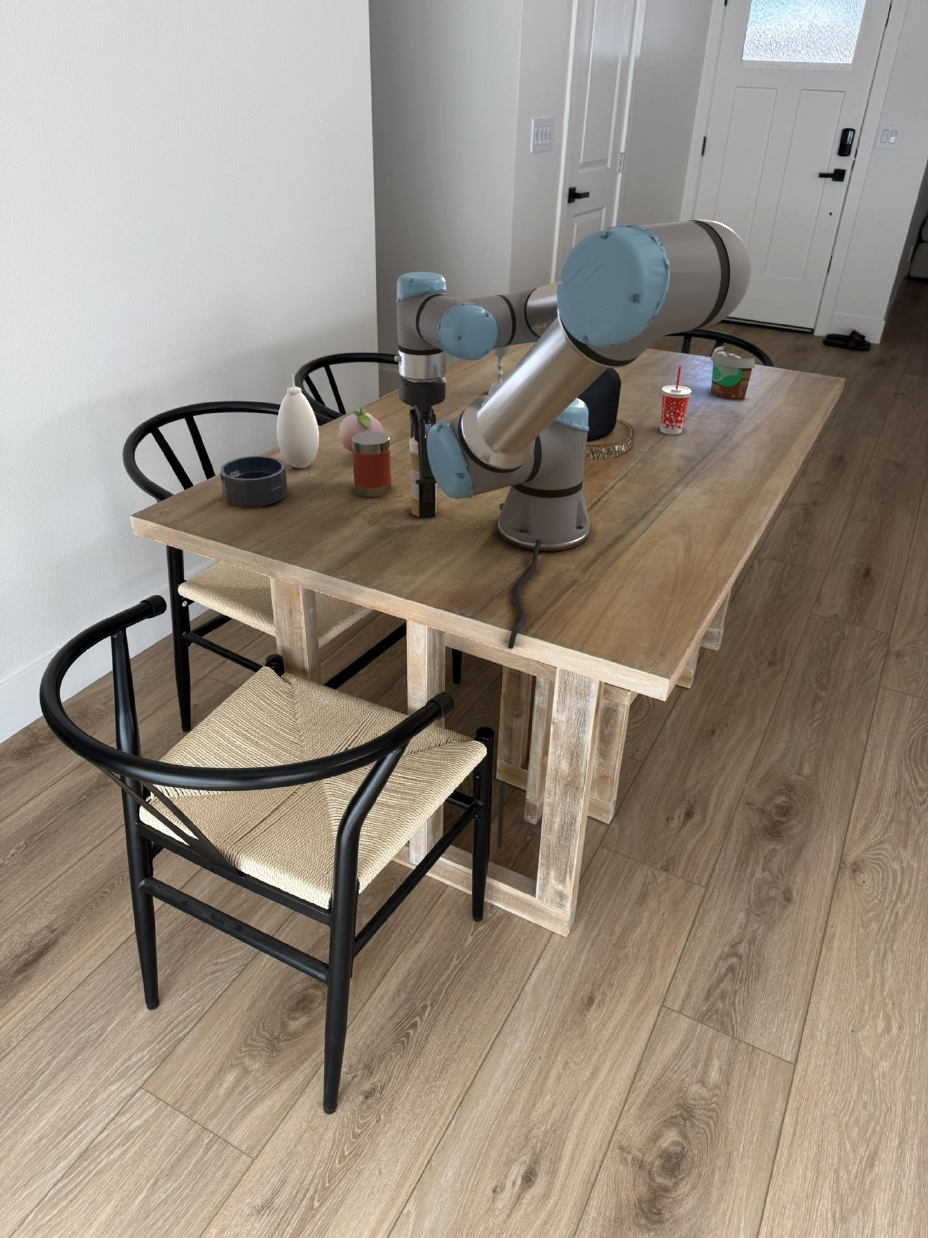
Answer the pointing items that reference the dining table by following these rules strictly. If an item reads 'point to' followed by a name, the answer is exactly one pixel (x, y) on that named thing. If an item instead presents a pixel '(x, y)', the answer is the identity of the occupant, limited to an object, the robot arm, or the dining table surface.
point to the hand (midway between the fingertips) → (423, 504)
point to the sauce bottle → (297, 429)
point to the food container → (730, 374)
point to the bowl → (254, 481)
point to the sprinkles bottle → (415, 477)
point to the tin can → (371, 464)
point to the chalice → (499, 366)
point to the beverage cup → (674, 407)
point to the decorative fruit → (357, 426)
